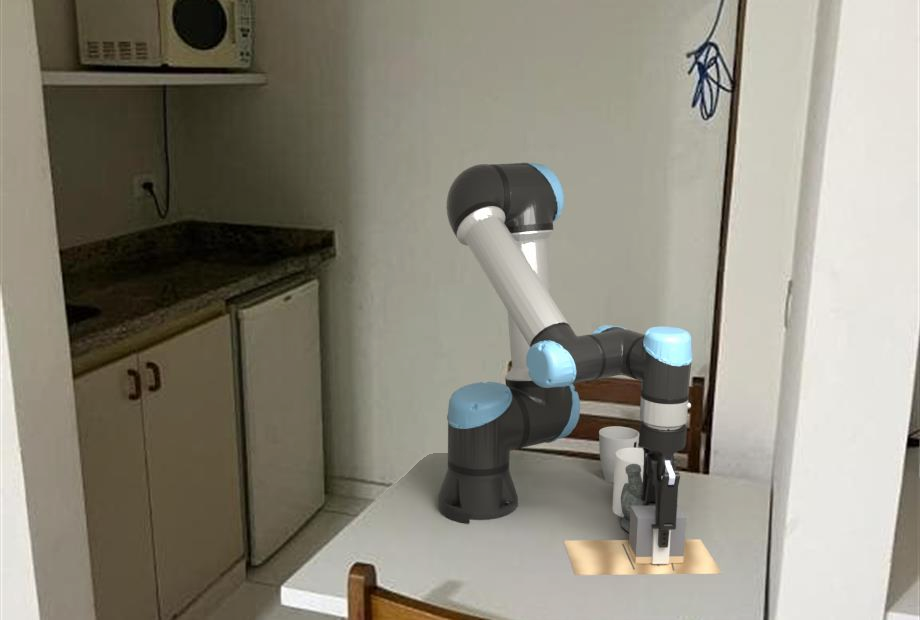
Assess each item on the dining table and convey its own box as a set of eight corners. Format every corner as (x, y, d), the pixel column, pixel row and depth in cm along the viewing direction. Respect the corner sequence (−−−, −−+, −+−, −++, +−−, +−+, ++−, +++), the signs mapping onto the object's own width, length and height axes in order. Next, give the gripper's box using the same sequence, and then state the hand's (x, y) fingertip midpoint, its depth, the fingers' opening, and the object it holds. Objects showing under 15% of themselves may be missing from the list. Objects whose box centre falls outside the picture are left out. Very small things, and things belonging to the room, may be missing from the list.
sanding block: (635, 563, 152) (637, 518, 150) (628, 549, 157) (630, 505, 155) (683, 562, 152) (686, 518, 151) (674, 549, 157) (677, 505, 156)
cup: (636, 488, 185) (639, 441, 183) (595, 484, 187) (598, 438, 184) (637, 473, 193) (639, 427, 191) (598, 469, 194) (600, 424, 192)
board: (574, 580, 149) (574, 574, 148) (563, 545, 160) (563, 540, 160) (721, 578, 150) (722, 573, 149) (699, 544, 161) (700, 539, 161)
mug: (642, 497, 181) (645, 439, 178) (662, 523, 169) (666, 462, 167) (601, 498, 180) (604, 440, 177) (619, 525, 168) (622, 464, 166)
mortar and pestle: (651, 520, 171) (673, 463, 168) (671, 547, 162) (695, 487, 159) (597, 510, 168) (618, 451, 165) (614, 537, 159) (638, 475, 156)
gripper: (703, 441, 141) (693, 580, 146) (670, 405, 159) (663, 530, 164) (654, 442, 141) (646, 581, 146) (627, 405, 158) (621, 531, 163)
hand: (655, 554), depth 155 cm, fingers closed on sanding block, 5 cm apart
